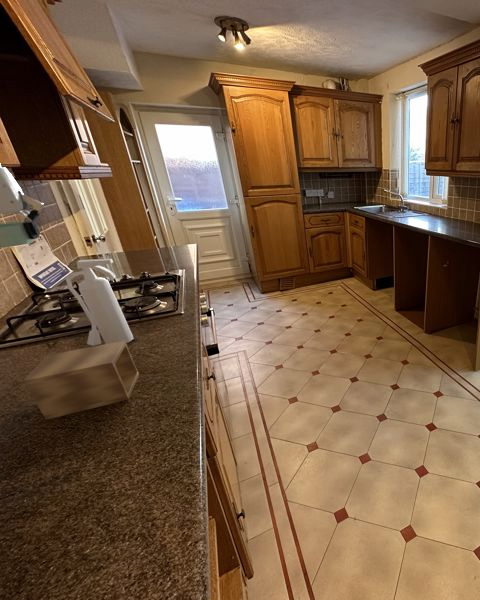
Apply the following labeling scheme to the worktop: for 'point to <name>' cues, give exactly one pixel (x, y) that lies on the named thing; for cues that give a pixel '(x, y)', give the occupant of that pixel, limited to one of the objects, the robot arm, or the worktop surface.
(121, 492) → the worktop surface
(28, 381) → the wooden box
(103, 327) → the fire extinguisher
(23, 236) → the bowl
